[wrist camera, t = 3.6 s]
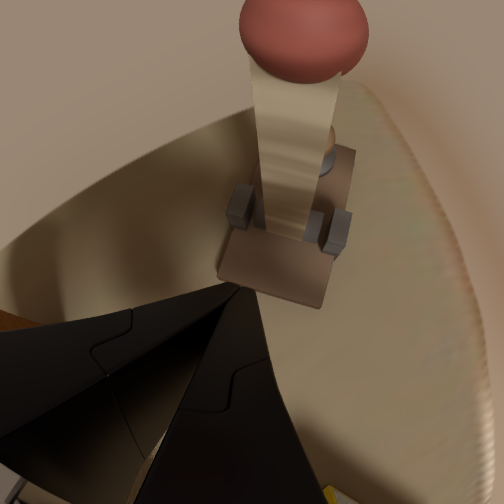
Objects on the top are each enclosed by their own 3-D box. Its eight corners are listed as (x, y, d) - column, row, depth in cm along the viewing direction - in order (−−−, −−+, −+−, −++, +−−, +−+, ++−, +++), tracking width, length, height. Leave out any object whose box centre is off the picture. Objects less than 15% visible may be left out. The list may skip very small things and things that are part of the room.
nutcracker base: (321, 310, 21) (336, 301, 15) (216, 279, 22) (198, 260, 17) (355, 156, 24) (371, 116, 19) (269, 134, 25) (267, 91, 20)
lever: (311, 257, 20) (399, 21, 4) (251, 240, 21) (191, -6, 4) (323, 212, 21) (390, -22, 5) (266, 196, 22) (244, -43, 5)
